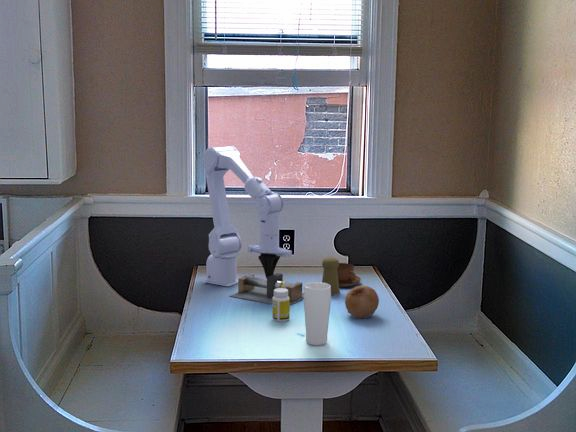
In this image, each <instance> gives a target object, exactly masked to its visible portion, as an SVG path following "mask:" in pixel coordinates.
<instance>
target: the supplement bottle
mask: <svg viewBox="0 0 576 432" xmlns="http://www.w3.org/2000/svg"><path fill="white" fill-rule="evenodd" d="M271 306H272V307H271V308H272V309H271V311H272V314H271V315H272V320H273V321H275V322H280V323H282V322H287V321H289V320H290V315H291V314H290V311H291V310H290V307H291V305H290V298H289V296H288V289H285V288H277V289H274V296H273V298H272V304H271Z"/></svg>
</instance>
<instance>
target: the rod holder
mask: <svg viewBox="0 0 576 432" xmlns="http://www.w3.org/2000/svg"><path fill="white" fill-rule="evenodd" d="M237 279H238V283H237V285H238V286H237V290H238V293H242V294H244V293H246V292H248V291H250V290H252V289H254V287H260V288H266V289H267V278H266V277H265V278H264V277H259V276H255V274H251V273H249V274H245V275H244V276H242V277H239V278H237ZM277 288H285V289H288V296H289V298H290V302H291V303H292V302H294V301H296V300H298V299H300V298H302V293H303V282H300V281H296V282H288V281H285V280H283V281H277V280H276V281H274V289H277Z"/></svg>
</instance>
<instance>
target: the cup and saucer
mask: <svg viewBox="0 0 576 432" xmlns="http://www.w3.org/2000/svg"><path fill="white" fill-rule="evenodd" d="M354 267H355V266H354V264H351V263H347V262H342V263H341V262H339V267H338V268H337V273H338V282H339V288H340V287H345V288H346V287H353V286H357V285H358V284H360V283H361V277H360V276H358V275H356V273H355V272H354V270H355V269H354Z"/></svg>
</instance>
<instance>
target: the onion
mask: <svg viewBox="0 0 576 432" xmlns="http://www.w3.org/2000/svg"><path fill="white" fill-rule="evenodd" d="M379 303H380V299H379V295H378V293H377V292H376V290H375V289H374V288H372V287H371V286H369V285H357V286H355V287H353V288H351V289H350V290H349V291H348V292H347V294H346V295H345V299H344V304H345V310H347V313H348V314H349V315H352V316H353V317H354V318H356V319H365V318H368V317H370V316H372V315H374V314H375V312H376V311H377V309H378V307H379Z"/></svg>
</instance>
